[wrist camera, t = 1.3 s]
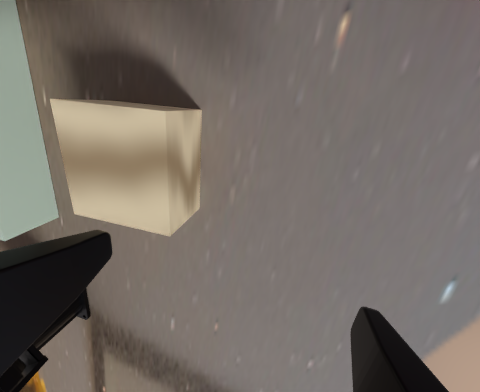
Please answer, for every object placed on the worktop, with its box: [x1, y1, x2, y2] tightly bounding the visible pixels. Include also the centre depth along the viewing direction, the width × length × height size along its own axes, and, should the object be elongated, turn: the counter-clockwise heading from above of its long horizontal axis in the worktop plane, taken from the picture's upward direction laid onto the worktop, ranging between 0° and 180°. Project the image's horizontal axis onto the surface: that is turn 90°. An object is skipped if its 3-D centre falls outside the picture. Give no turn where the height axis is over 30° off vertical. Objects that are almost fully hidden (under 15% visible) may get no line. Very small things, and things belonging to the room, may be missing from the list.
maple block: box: [50, 99, 201, 236], centre depth 17 cm, size 8×8×5 cm
